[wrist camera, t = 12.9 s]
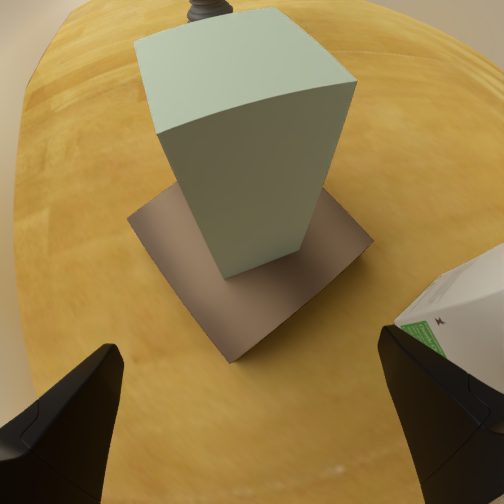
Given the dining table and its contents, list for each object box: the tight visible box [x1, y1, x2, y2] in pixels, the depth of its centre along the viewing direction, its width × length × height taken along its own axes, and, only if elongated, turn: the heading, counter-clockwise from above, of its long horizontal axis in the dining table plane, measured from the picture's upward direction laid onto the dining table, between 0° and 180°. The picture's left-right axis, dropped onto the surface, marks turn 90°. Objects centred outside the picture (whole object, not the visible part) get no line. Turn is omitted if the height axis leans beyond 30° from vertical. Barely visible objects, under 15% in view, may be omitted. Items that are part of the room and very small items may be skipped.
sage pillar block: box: [134, 7, 357, 279], centre depth 13 cm, size 5×5×13 cm
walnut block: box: [127, 181, 374, 364], centre depth 20 cm, size 12×12×3 cm
